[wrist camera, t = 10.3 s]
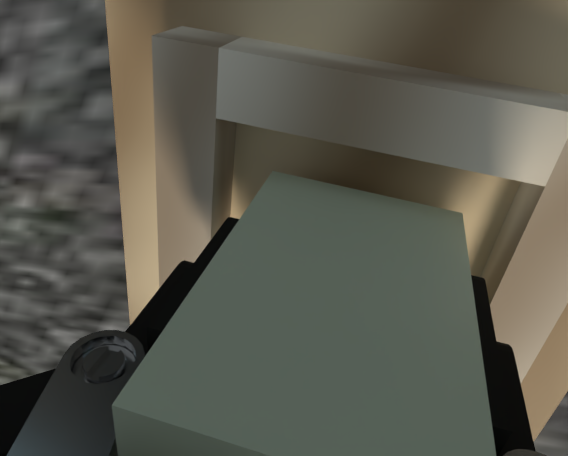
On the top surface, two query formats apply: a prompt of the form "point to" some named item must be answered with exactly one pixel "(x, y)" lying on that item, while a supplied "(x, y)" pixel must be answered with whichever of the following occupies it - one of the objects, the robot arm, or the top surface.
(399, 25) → the end holder
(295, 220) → the pale green block
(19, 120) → the top surface
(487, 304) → the robot arm
